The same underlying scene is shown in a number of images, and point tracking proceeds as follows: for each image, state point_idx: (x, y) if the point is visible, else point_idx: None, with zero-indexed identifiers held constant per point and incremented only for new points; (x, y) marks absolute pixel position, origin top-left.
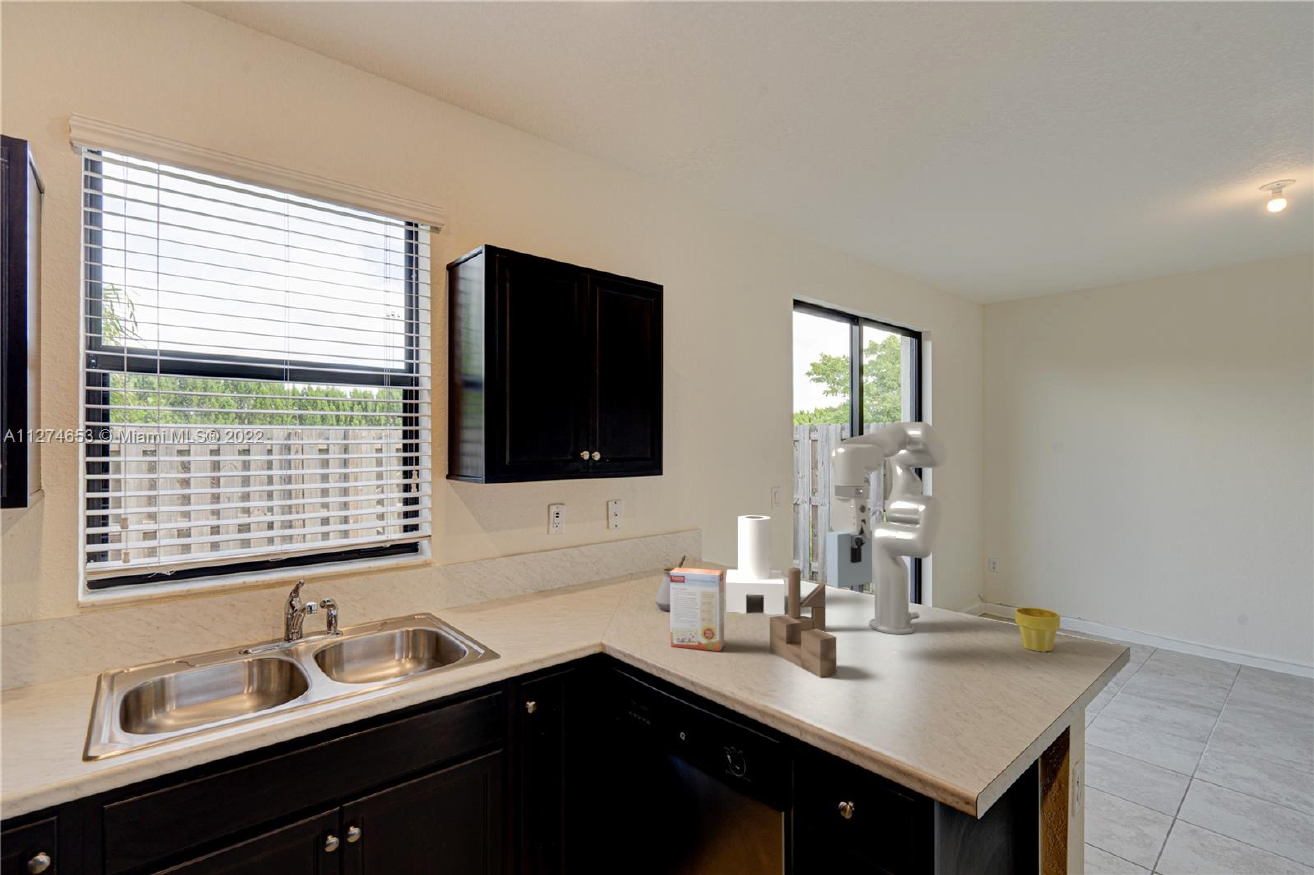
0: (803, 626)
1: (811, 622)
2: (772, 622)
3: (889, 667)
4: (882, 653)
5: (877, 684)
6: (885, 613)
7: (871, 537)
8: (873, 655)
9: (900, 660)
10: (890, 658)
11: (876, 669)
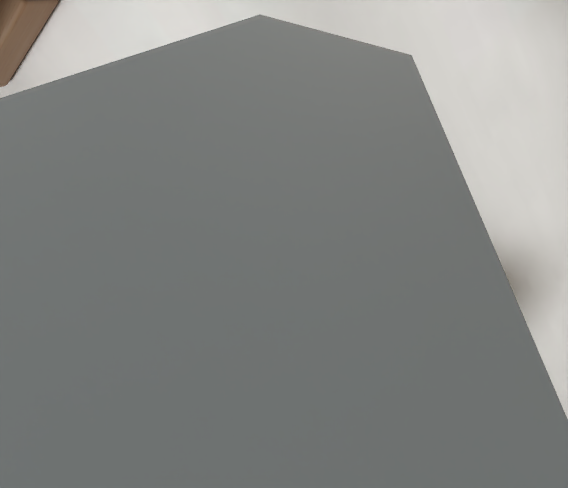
0: (25, 38)
1: (31, 7)
2: None
3: (540, 152)
4: (446, 12)
5: (563, 323)
6: None
7: (529, 392)
8: (426, 72)
9: (551, 34)
10: (503, 46)
11: (505, 208)
